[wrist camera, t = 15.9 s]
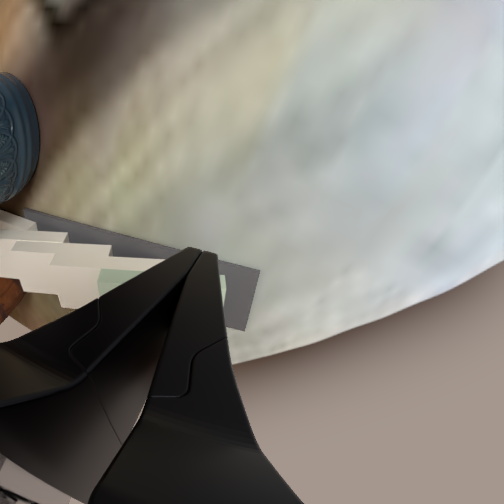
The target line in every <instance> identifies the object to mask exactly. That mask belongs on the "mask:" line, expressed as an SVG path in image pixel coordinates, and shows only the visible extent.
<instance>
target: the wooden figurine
mask: <svg viewBox="0 0 504 504" xmlns="http://www.w3.org/2000/svg"><path fill="white" fill-rule="evenodd" d="M26 293H27V292H25V291H23V288H22V285H21V282H20V280H19V279H13V278H4V277H0V324H1V323H2V322H3V321H4V320H5V319H6V318H7V317H8V316H9V314H10V313H11V312H12V311H13V310H14V308H15V307H16V306H17V305H18V303H19V302H20V301H21V299H22V298H23V296H24V295H25V294H26Z"/></svg>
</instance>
